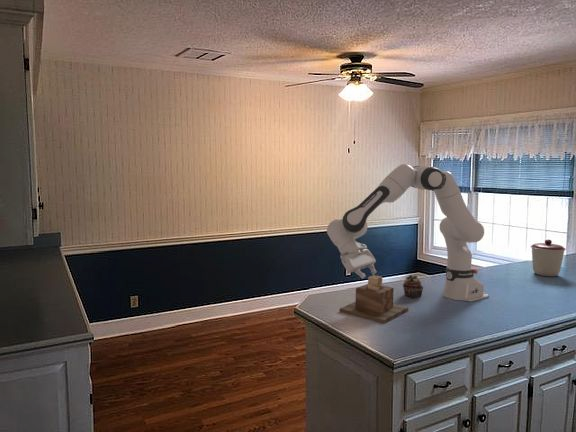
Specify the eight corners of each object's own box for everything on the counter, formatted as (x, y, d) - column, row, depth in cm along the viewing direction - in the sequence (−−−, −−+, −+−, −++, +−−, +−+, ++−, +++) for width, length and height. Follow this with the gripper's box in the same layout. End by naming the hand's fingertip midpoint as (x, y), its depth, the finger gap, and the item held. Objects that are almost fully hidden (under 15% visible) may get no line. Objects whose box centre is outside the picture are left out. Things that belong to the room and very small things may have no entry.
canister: (564, 273, 277) (566, 238, 274) (563, 280, 262) (566, 243, 259) (530, 269, 287) (532, 236, 284) (527, 275, 271) (529, 240, 269)
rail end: (372, 299, 207) (373, 275, 206) (381, 301, 204) (382, 276, 203) (367, 301, 204) (368, 277, 203) (376, 303, 201) (377, 278, 200)
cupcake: (422, 299, 222) (423, 279, 221) (401, 297, 226) (402, 277, 224) (423, 294, 231) (424, 274, 230) (403, 292, 235) (404, 273, 233)
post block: (365, 300, 220) (365, 279, 219) (408, 310, 206) (409, 287, 205) (339, 311, 203) (339, 288, 202) (384, 323, 189) (385, 298, 188)
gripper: (342, 250, 200) (362, 275, 195) (367, 243, 215) (385, 267, 210) (334, 258, 203) (352, 284, 198) (358, 252, 219) (376, 275, 214)
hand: (369, 275), depth 204 cm, fingers open, 8 cm apart
